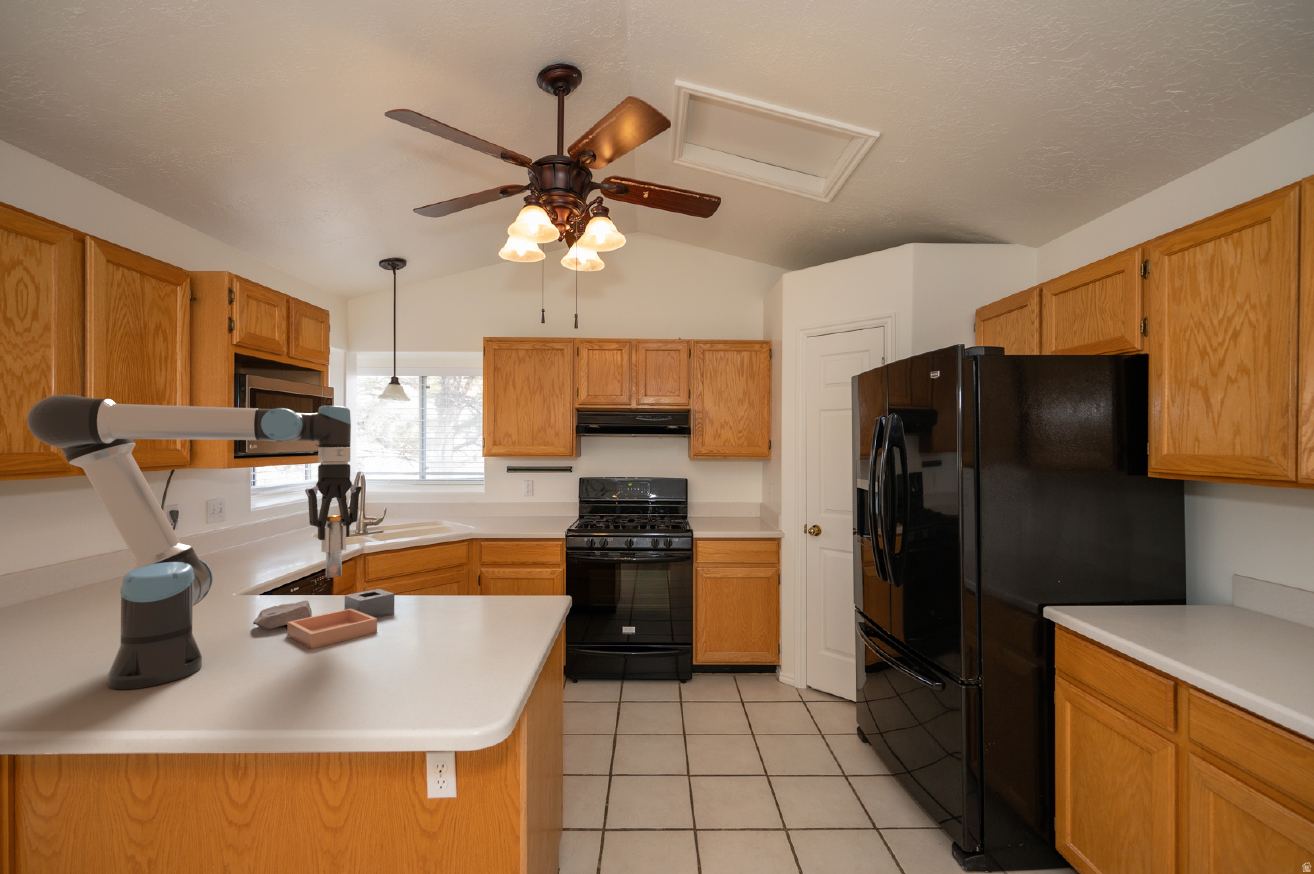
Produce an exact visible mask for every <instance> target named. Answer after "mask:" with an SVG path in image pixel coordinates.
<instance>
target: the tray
mask: <svg viewBox="0 0 1314 874" xmlns="http://www.w3.org/2000/svg"><path fill="white" fill-rule="evenodd" d="M286 628H287V629H286V630H287V631H286V635H287V637H288V638H290V639H292V640H293V641H296V642H297V643H300V644H302V645H303V646H305V647H307V648H309V649H317V648H319V647H323V646H327V645H332V644H335V643H340V642H344V641H348V640H351V639H355V638H356V639H357V638H359V637H363V636H367V635H371V634H375V633H377V632H378V618H375V617H372V616H369V615H367V614H364V613H362V612H359V611H357V610H354V609H352V608H351V609H346V610H344V609H343V610H341V609H340V610H337V611H331V612H329V613H323V614H319V615H314V616H313V615H312V617H309V618H304V619H299V620H295V621H290V622H287V627H286Z"/></svg>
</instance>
